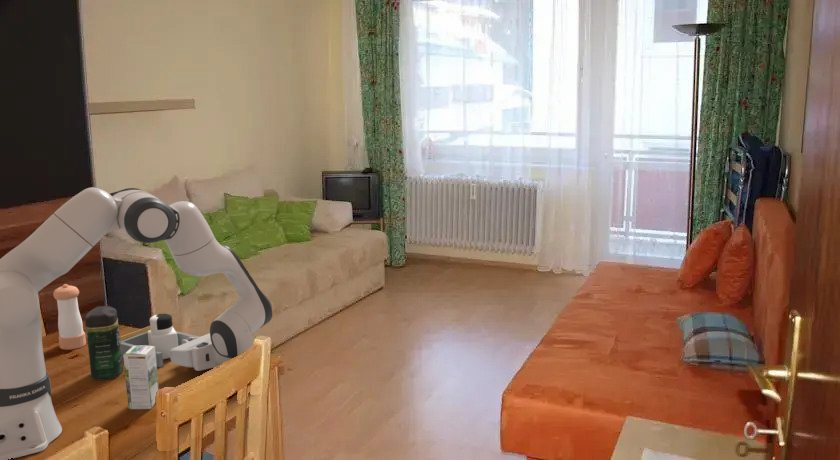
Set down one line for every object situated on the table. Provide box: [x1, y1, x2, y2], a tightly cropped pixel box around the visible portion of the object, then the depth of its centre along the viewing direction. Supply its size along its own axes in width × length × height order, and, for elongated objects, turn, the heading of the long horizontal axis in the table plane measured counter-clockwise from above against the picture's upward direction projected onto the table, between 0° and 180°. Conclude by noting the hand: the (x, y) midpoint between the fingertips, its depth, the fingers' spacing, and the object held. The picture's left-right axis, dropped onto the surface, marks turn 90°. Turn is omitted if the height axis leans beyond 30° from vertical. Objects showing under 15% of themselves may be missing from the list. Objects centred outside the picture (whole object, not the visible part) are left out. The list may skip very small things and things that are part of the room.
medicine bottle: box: [148, 313, 178, 360], centre depth 214 cm, size 7×7×12 cm
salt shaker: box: [52, 283, 87, 351], centre depth 222 cm, size 7×7×19 cm
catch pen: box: [120, 325, 200, 368], centre depth 216 cm, size 15×18×5 cm
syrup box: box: [122, 345, 160, 410], centre depth 182 cm, size 6×6×14 cm
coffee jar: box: [84, 305, 124, 381], centre depth 200 cm, size 10×8×19 cm
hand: (185, 340), depth 210 cm, fingers closed
